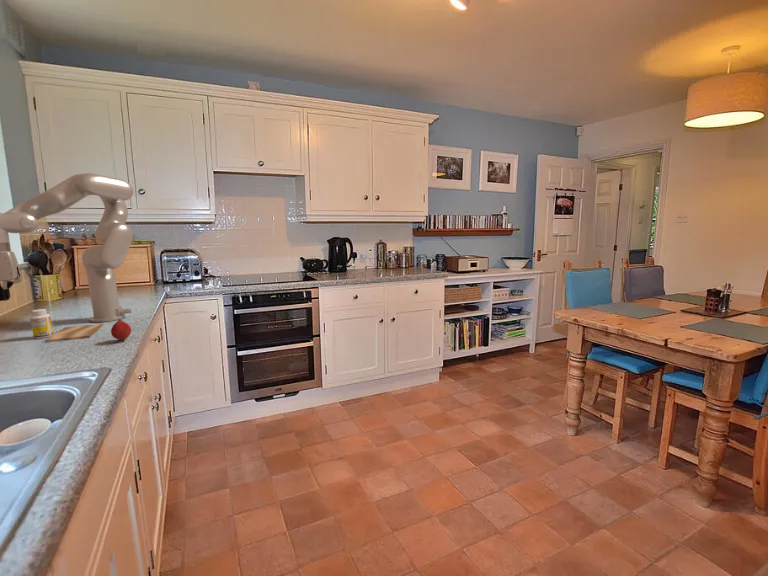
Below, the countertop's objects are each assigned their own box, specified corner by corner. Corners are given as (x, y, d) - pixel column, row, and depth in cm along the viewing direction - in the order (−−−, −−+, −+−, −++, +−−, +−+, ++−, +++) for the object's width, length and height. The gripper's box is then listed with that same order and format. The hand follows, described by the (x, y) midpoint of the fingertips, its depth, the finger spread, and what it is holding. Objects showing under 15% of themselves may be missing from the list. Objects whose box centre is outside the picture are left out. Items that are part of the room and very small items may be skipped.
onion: (111, 344, 133) (108, 322, 131) (114, 340, 138) (110, 318, 136) (131, 341, 135) (128, 319, 134) (133, 337, 140) (130, 316, 139)
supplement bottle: (45, 334, 147) (40, 308, 145) (57, 334, 146) (52, 308, 144) (29, 338, 141) (24, 311, 139) (42, 339, 140) (37, 312, 138)
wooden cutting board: (103, 325, 158) (103, 323, 158) (89, 337, 141) (89, 335, 141) (64, 329, 153) (64, 327, 153) (45, 342, 137) (44, 340, 136)
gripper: (-40, 249, 128) (-30, 303, 131) (17, 248, 134) (26, 300, 136) (-26, 248, 135) (-17, 300, 138) (28, 247, 140) (35, 297, 143)
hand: (4, 300), depth 137 cm, fingers closed
